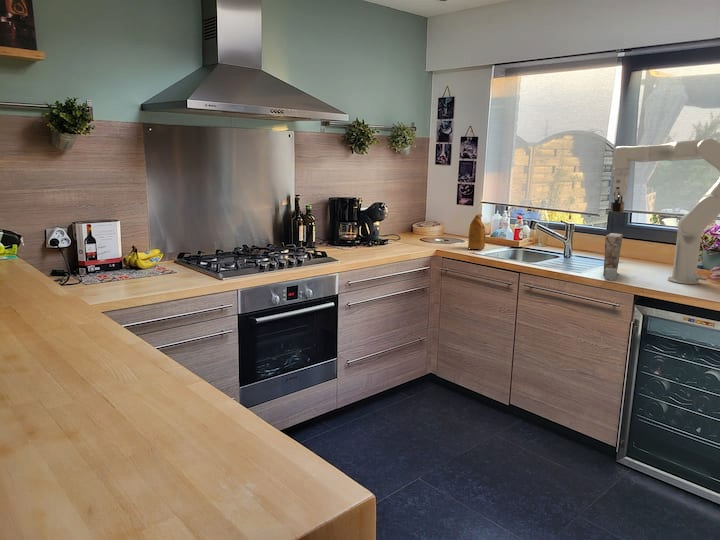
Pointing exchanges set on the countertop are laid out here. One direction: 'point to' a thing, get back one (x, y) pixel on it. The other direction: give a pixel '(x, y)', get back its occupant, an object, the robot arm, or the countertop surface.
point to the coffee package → (477, 234)
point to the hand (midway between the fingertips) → (617, 210)
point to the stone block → (612, 250)
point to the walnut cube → (620, 207)
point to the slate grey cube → (610, 273)
